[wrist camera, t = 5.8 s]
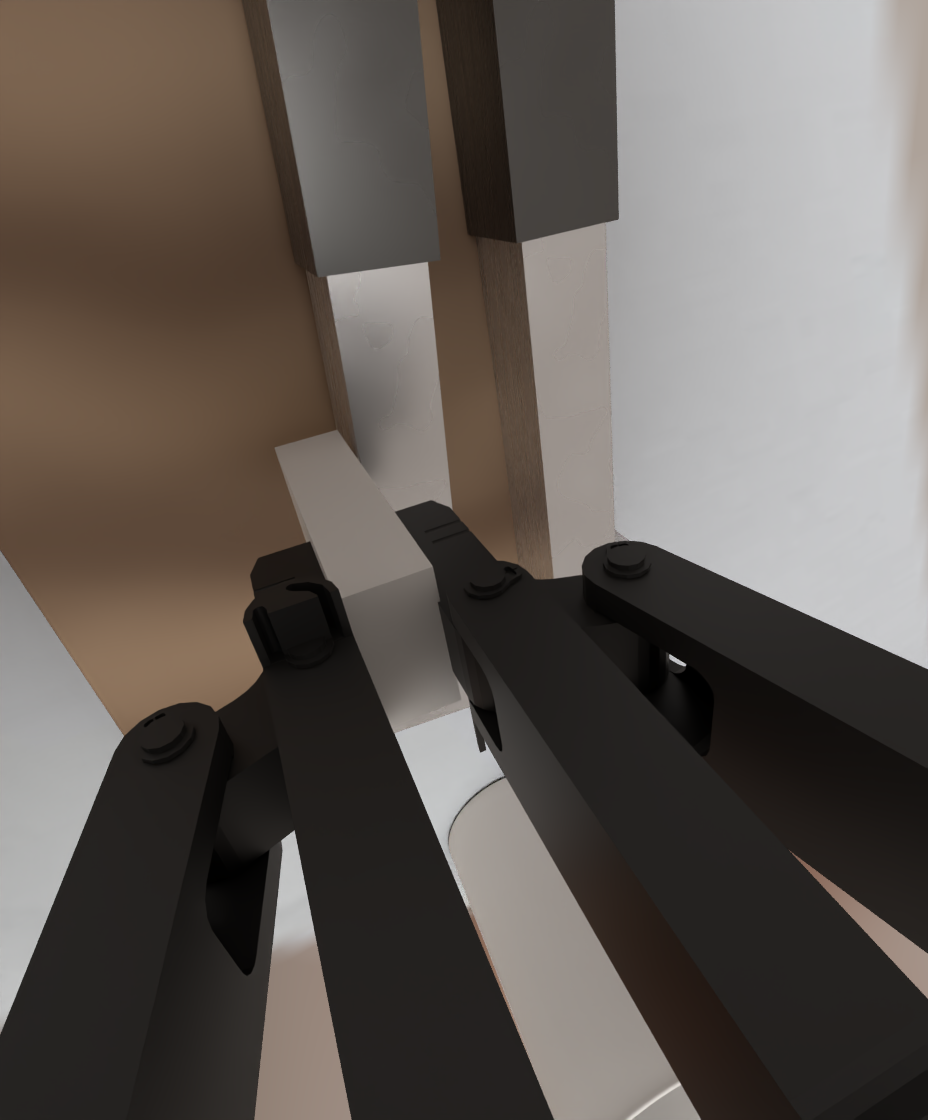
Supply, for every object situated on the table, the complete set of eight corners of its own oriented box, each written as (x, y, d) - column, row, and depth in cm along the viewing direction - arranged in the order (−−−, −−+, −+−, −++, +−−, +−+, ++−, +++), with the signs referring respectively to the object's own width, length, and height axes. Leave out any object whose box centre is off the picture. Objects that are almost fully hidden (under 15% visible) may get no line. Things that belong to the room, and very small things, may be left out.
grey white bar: (71, -1135, 7) (26, -1728, 5) (531, -1017, 8) (660, -1440, 6) (456, 647, 21) (488, 699, 19) (602, 590, 23) (648, 633, 20)
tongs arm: (-102, -1290, 6) (-261, -2162, 4) (437, -1051, 8) (551, -1578, 5) (353, 684, 20) (377, 750, 18) (515, 632, 22) (557, 687, 19)
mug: (540, 865, 32) (696, 1152, 23) (421, 877, 29) (544, 1218, 20) (627, 708, 29) (855, 970, 19) (502, 702, 26) (701, 1013, 16)
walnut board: (-1235, -1441, 5) (-1644, -1916, 4) (501, -1005, 9) (553, -1187, 8) (159, 753, 21) (159, 788, 20) (591, 587, 24) (613, 608, 23)
